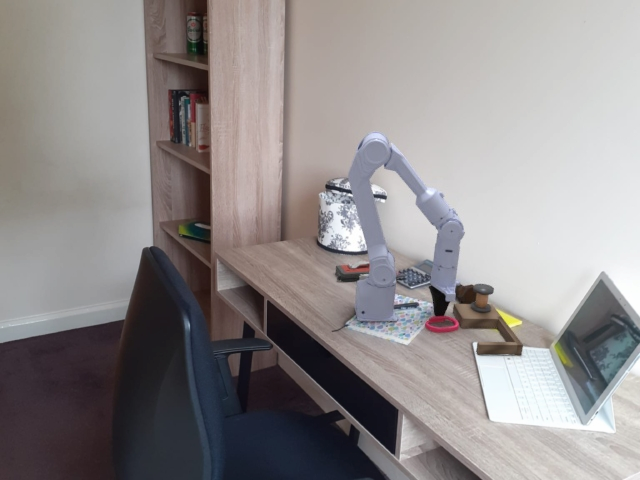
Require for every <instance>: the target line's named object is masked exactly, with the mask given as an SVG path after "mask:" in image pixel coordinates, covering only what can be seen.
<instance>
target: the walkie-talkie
mask: <svg viewBox="0 0 640 480" xmlns="http://www.w3.org/2000/svg"><path fill="white" fill-rule="evenodd" d="M369 271H370V264H369V260H366V261H365V260H359V261H357V262H355V263H354V264H352V263H349V262H348V263H347V264H342V265H341V264H340V265H336V266H335V275H336V277H337V280H338V281H341V282H343V283H344V282H345V283H347V282H357V281H359V280H364V279H366V277H367V276H368V275H369ZM405 276H408V275H407V274H405V273H401V274H396V279H398V278H406V277H405Z"/></svg>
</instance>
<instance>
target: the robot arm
mask: <svg viewBox="0 0 640 480" xmlns="http://www.w3.org/2000/svg"><path fill="white" fill-rule="evenodd" d="M382 166H383V168H384V169H385V170H389V171H392V172H393V171H394V172H395V173H396V174H397V176H399V178H400V179H401V180H402V181H403V182H404V183H405V184H406V186H407V187H408V188H409V189H410V191H411V192H412V193H413V194H414V195H415V196H416V199H415V206H416V207H417V208H418V210H419V211H420V212H421V214H423V215H424V217H425V218H426V219H427V220H428V222H429V223H430V224H431V225H432V226H434V227H435V230H437V233H436V240H435V241H436V242H435V245H434V252H433V261H432V269H431V273H430V276H431V279H430V278H429V284H430V285H429V286H428V289H429V292H430V296H431V299H432V309H433V315H434V317H435V316H446V312H447V310H448V307H449V305H450V304H451V302H455V301H456V297H457V296H456V293H455V288H456V286H457V285H460V284H461V281H460V280H459V279H457V273H458V266H459V265H458V264H459V260H460V258H459V257H460V253H461V252H460V251H461V250H460V249H461V246H460V245H461V241H462V239H463V238H464V236H465V233H466V232H465V229H464V225H463V222H462V220H461V218H460V217H459V215H458V213H457V211H456V210H455V208H451V206H450V205H449V204H448V203H447V201H446V200H445V199H444V198H445V194H444V193H443V192H442V190H440V191H438V189H437V188H436V187H435V188H433V187H429V186H427V185H426V184H425V182H424V180H423V179H422V178H421V177H420V175H419V174H418V173H417V171H416V170H415V168H414V167H413V166H412V165H411V163H410V161H409V160H408V159H407V158H406V156H405V155H404V154H403V153H402V151H401V150H400V149H399V148H398V147H397V146H396V145H395V144H394V143H393V142H392V141H390V142H389V139H388V137H387V136H386V135H385V134H384V133H383V132H380V131H371V132H369V133H367V134H366V135H365V136H364V137H363V139H362V140H361V141H360V142H359V143H358V144H357V147H356V150H355V152H354V156H353V158H352V161H351V164H350V167H349V169H348V172H347V177H348V178H347V179H348V183H349V187H350V190H351V194H352V198H353V202H354V205H355V209H356V212H357V216H358V220H359V224H360V228H361V231H362V235H363V238H364V242H365V245H366V249H367V255H368V261H369V264H370V271H369V275H368V276H367V277H366V279H364V280H359V281H356V287H355V299H354V311H355V314H356V317H357V321H358V322H387V321H388V322H389V323H390V321H396V322H397V321H398V318H397V315H396V313H395V311H394V309H395V300H396V289H397V287H396V286H397V278H396V275H397V269H396V265H395V264H396V260H395V259H396V257H395V256H394V254H393V253H392V251H390V249H389V246H388V242H387V241H386V237H385V235H384V230H383V227H382V223H381V219H380V215H379V211H378V208H377V204H376V201H375V200H376V199H375V197H374V192H373V189H372V184H371V181H370V179H371V178H372V176H373V175H374V174H375V172H376V170H378V169H380V168H381V167H382ZM388 322H387V323H388Z"/></svg>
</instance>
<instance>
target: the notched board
mask: <svg viewBox="0 0 640 480" xmlns="http://www.w3.org/2000/svg"><path fill="white" fill-rule="evenodd" d="M488 304H489V305H490V306H491V311H490V312H488V313H479V312H476V311H473V310H472V309H471V304H461V303H453V307H452V314H453V316H454V319H456V320H457V321H458V323H459V327H460V328H461V329H496V330H497V331H498V332H499V334H500V335H501V336H502V338H503V339H504V341H477V342H476V343H477V344H476V349H475V352H477V353H476V354H477V356H479V355H480V354H516V355H515V356H522V355H523V354H522V353H523V348H524V344H523V343H522V342H521V340H520V339H519V338H518V336H517V335H516V333H514V331H513V329H512V328H511V327H510V326H509V323H507V322H506V321H505V319H504V318H503V316H501V314H500V313H499V310H497V309H496V307H495V306H494V305H493V304H492V303H491V304H490V303H488ZM480 356H481V355H480Z"/></svg>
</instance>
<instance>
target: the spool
mask: <svg viewBox="0 0 640 480" xmlns="http://www.w3.org/2000/svg"><path fill="white" fill-rule="evenodd" d="M473 285H474V287H473V290H474V291H475V292H476V293H477V296H476V301H475V302H472V303H471V309H472V310H473V311H476V312H479V313H488V312H490V311H491V306H490V305H489V304H490V303H488V302H489V296H490V295H493V293H494V290H495V288H494V287H493V286H491V285H489V284H486V283H475V284H473Z"/></svg>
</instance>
